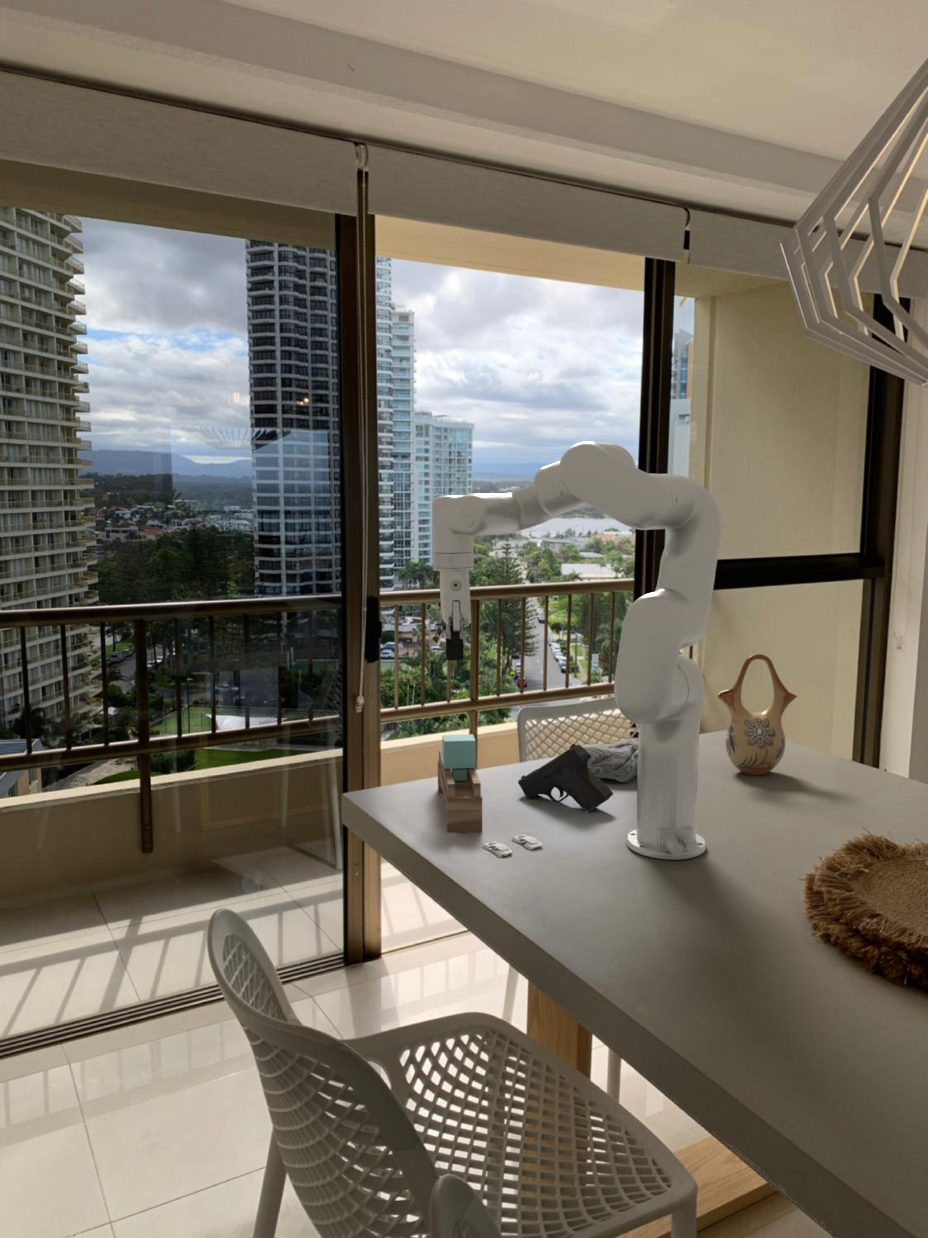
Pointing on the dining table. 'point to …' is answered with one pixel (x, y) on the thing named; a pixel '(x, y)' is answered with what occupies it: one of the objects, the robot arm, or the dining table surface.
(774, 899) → the dining table surface
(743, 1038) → the dining table surface
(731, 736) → the ceramic vessel
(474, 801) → the beam
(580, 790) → the handgun
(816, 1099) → the dining table surface
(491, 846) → the white curved pieces
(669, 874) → the dining table surface
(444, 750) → the teal rectangular block
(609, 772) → the decorative stone
